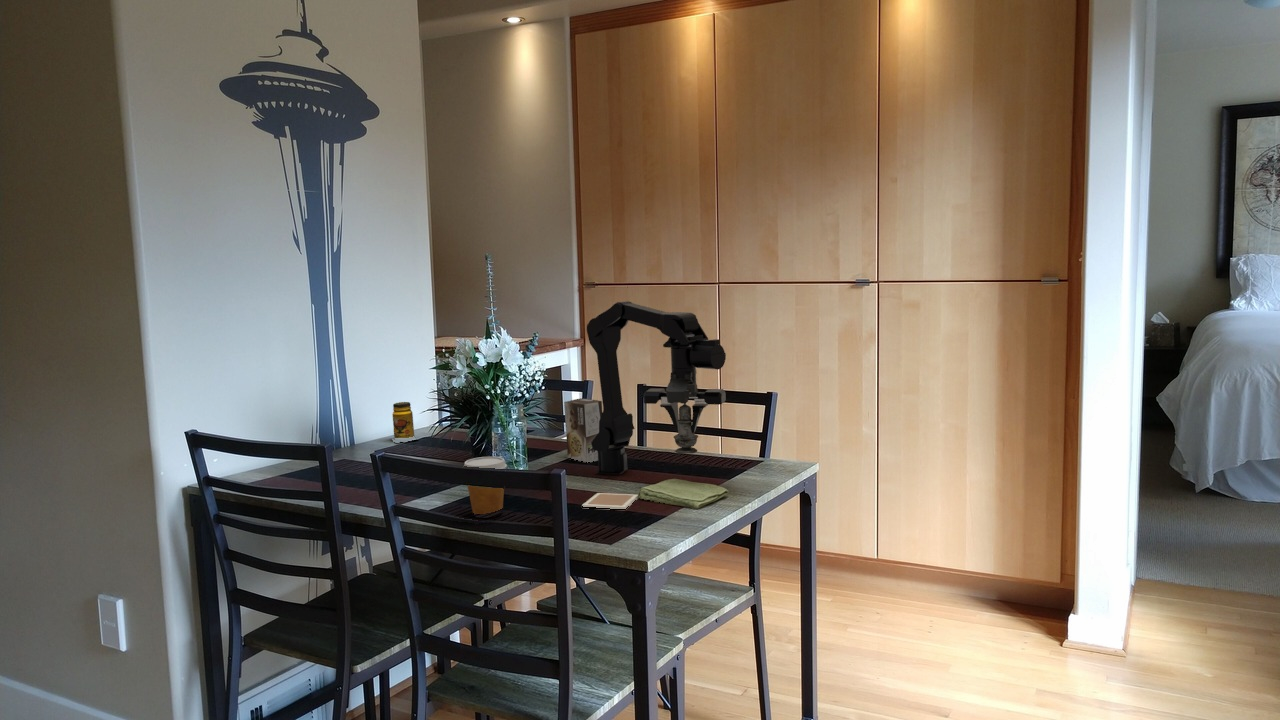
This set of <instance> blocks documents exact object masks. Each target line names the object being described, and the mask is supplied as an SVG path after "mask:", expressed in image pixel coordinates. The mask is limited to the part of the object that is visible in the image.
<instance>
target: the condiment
mask: <svg viewBox="0 0 1280 720" xmlns="http://www.w3.org/2000/svg"><path fill="white" fill-rule="evenodd" d="M392 408H393V409H392V411H393V412H392V424H393V436H394V437H393V439H394V438H409V437H413V436H414V437H415V428H414V414H413V411H412V410H411V409H412V407H411V402H409V401H399V402H395V403H393V405H392Z"/></svg>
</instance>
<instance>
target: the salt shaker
mask: <svg viewBox="0 0 1280 720" xmlns="http://www.w3.org/2000/svg"><path fill="white" fill-rule="evenodd" d="M678 414H679V420H678V422H679V432H678V433H676V434H675V435H674V436H673V439H674V442H675V445H676V446H677V447H678V448H676V449H675V451H674V452H675V453H676V454H681V455H686V454H687V455H690V454H695V453H698V449H697V448H695V445H696V444H697V442H698V438H699V435H698V434H695V432H694V433H692V406H690V405H688V404H687V403H683V404H682V405H680V406H678Z"/></svg>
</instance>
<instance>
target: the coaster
mask: <svg viewBox="0 0 1280 720" xmlns="http://www.w3.org/2000/svg"><path fill="white" fill-rule="evenodd" d="M638 499H640V498H639V496H638V494H628V493H627V494H626V493H609V492H608V493H607V492H597V493H595V494H594V495H593V496H592V497H590V498H589V499H587V500H586V502H584V503H583V504H582V505H581V507H582V506H583V507H596V508H610V509H626V508H627V507H628V506H629V507H631V505H633V504H632V503H633V502H634V501H635V500H636V501H637V500H638ZM636 501H635V502H636ZM635 502H634V503H635ZM629 507H628V508H629ZM628 508H627V509H628ZM610 509H609V510H610ZM627 509H626V510H627Z"/></svg>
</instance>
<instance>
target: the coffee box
mask: <svg viewBox="0 0 1280 720" xmlns="http://www.w3.org/2000/svg"><path fill="white" fill-rule="evenodd" d="M563 403H564V405H563V407H564V420H565V423H564V424H565V434H566V435H565V437H566V450H567V451H566V452H567V453H566V454H567V459H568V458H571V459H574V460H573V461H576V460H578V461H577V462H581V461H583V462H582V463H586V462H587V464H589V463H588V462H590V463H594V462H598V451H595V450H593V448H592V444H591V442H592V441H593V439H594V438H595V437H596V435H597V434H598V433H599V420H600V418H601V415H602V412H603V401H602V400H596V399H591V398H590V399H589V398H576V399H571V400H567V401H564V402H563ZM571 459H570V460H571ZM593 461H594V462H593Z"/></svg>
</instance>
